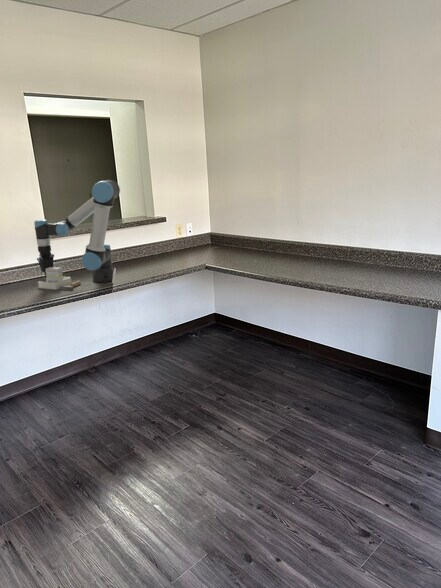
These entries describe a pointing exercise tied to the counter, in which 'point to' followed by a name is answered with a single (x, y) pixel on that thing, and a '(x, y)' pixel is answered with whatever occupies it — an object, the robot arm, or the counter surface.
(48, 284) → the frame
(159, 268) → the counter surface
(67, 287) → the scraper
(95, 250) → the robot arm
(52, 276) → the ink box
